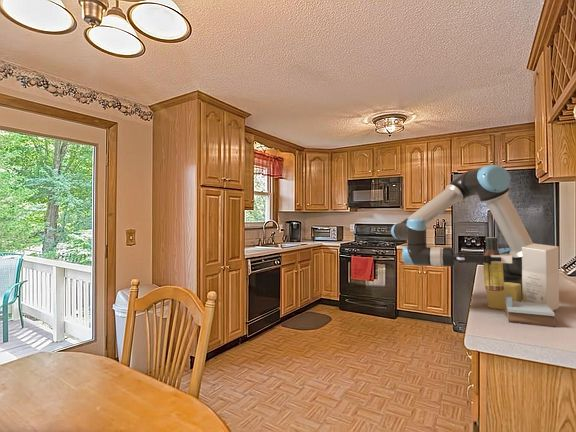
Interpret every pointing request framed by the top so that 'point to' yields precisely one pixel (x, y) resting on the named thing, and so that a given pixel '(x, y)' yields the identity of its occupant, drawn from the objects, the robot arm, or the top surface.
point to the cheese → (503, 295)
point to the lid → (527, 307)
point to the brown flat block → (530, 319)
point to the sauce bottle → (493, 267)
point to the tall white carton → (540, 274)
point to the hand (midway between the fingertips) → (511, 258)
